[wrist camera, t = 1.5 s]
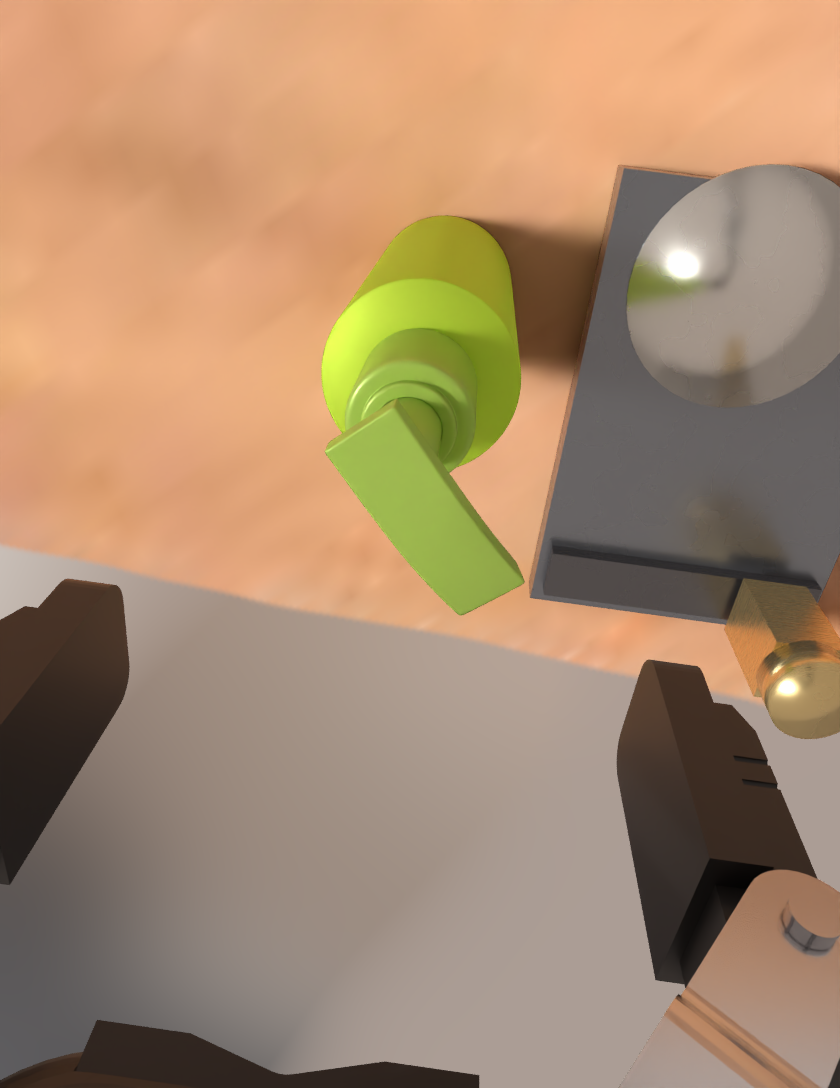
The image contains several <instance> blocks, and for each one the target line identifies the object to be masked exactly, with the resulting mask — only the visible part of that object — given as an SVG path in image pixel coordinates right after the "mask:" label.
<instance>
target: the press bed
mask: <svg viewBox="0 0 840 1088" xmlns="http://www.w3.org/2000/svg"><path fill="white" fill-rule="evenodd" d="M839 554H840V187H838V186H837V185H836V184H835V183H834V182H832V181H830V180H829V179H827V178H825V177H823V176H822V175H820V174H817V173H815V172H812V171H809V170H807V169H804V168H799V167H794V166H789V165H776V164H766V165H755V166H749V167H745V168H740V169H736V170H733V171H730V172H727V173H724V174H722V175H719V176H717V177H707V176H700V175H692V174H684V173H676V172H669V171H661V170H653V169H645V168H637V167H630V166H622V165H618V170H617V174H616V179H615V184H614V188H613V193H612V198H611V202H610V207H609V212H608V216H607V221H606V226H605V230H604V235H603V240H602V244H601V249H600V254H599V258H598V263H597V268H596V272H595V277H594V282H593V286H592V291H591V296H590V300H589V305H588V310H587V314H586V319H585V323H584V328H583V333H582V337H581V342H580V347H579V351H578V356H577V361H576V365H575V370H574V375H573V379H572V384H571V389H570V393H569V398H568V403H567V407H566V412H565V417H564V421H563V426H562V431H561V435H560V440H559V445H558V449H557V454H556V459H555V463H554V468H553V473H552V477H551V482H550V487H549V491H548V496H547V501H546V505H545V510H544V515H543V519H542V524H541V529H540V533H539V538H538V543H537V547H536V552H535V557H534V561H533V566H532V571H531V575H530V580H529V589H530V598H535V599H542V600H549V601H557V602H564V603H571V604H579V605H586V606H593V607H601V608H608V609H615V610H623V611H630V612H637V613H644V614H652V615H659V616H666V617H674V618H681V619H688V620H696V621H703V622H710V623H718V624H725V625H726V623H727V621H728V618H729V615H730V613H731V610H732V608H733V605H734V602H735V600H736V597H737V594H738V592H739V589H740V586H741V584H742V581H743V578H746V579H753V580H760V581H768V582H775V583H783V584H790V585H797V586H805V587H807V588H808V590H809V591H810V593H811V594H812V596H813V597H814V599H815V600H816V602H817V603H818V601H819V599H820V597H821V594H822V592H823V590H824V588H825V585H826V583H827V581H828V579H829V576H830V574H831V572H832V570H833V567H834V565H835V563H836V561H837V558H838V556H839Z"/></svg>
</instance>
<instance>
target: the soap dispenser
mask: <svg viewBox="0 0 840 1088" xmlns="http://www.w3.org/2000/svg"><path fill="white" fill-rule="evenodd" d="M321 376H322V387H323V392H324V397H325V400H326V404H327V406H328V409H329V411H330V414H331V416H332V418H333V420H334V421H335V423H336V425H337V426H338V428H339V429H340V431H341V432H342V434H341V435H339V436H337V437H336V438H334V439H333V440H331V441H330V442H329V443H328V445H327V448H326V450H325V453H326V455H327V456H328V458H329V459H330V460H331V462H332V463H333V464H334V466H335V467H336V469H337V470H338V471H339V473H340V474H341V475H342V477H343V478H344V480H345V481H346V482H347V484H348V485H349V486H350V488H351V489H352V491H353V492H354V493H355V495H356V496H357V497H358V499H359V500H360V501H361V503H362V504H363V505H364V507H365V508H366V509H367V511H368V512H369V513H370V515H371V516H372V517H373V519H374V520H375V521H376V523H377V524H378V525H379V527H380V528H381V529H382V531H383V532H384V533H385V535H386V536H387V537H388V538H389V540H390V541H391V542H392V543H393V545H394V546H395V547H396V548H397V550H398V551H399V552H400V553H401V555H402V556H403V557H404V558H405V559H406V561H407V562H408V563H409V564H410V565H411V566H412V568H413V569H414V570H415V571H416V572H417V573H418V574H419V576H420V577H421V578H422V579H423V580H424V581H425V582H426V583H427V584H428V585H429V586H430V587H431V588H432V589H433V590H434V591H435V593H436V594H437V595H438V596H439V597H440V598H441V599H442V600H443V601H444V602H445V603H446V604H448V605H449V606H450V607H451V608H452V609H453V610H454V611H455V612H456V613H457V614H459V615H464V614H466V613H468V612H470V611H472V610H474V609H476V608H478V607H480V606H482V605H484V604H486V603H488V602H490V601H492V600H494V599H496V598H498V597H499V596H501V595H503V594H505V593H507V592H509V591H511V590H513V589H515V588H517V587H519V586H520V585H522V584H523V583H524V582H525V581H524V579H523V576H522V574H521V572H520V570H519V567H518V565H517V563H516V561H515V560H514V559H513V558H512V556H511V555H510V554H509V553H508V551H507V550H506V549H505V548H504V547H503V546H502V544H501V543H500V542H499V541H498V539H497V538H496V537H495V536H494V534H493V533H492V532H491V530H490V529H489V528H488V527H487V525H486V524H485V523H484V521H483V520H482V519H481V517H480V516H479V514H478V513H477V512H476V510H475V509H474V508H473V506H472V505H471V503H470V502H469V501H468V499H467V498H466V496H465V495H464V494H463V492H462V491H461V489H460V488H459V486H458V485H457V484H456V482H455V481H454V479H453V478H452V476H451V475H450V474H449V473H450V472H451V471H452V470H454V469H455V468H456V467H459V466H461V465H464V464H466V463H468V462H470V461H472V460H474V459H475V458H477V457H478V456H480V455H481V454H483V453H484V452H485V451H487V450H488V449H489V448H490V447H491V446H492V445H493V444H494V443H495V442H496V441H497V440H498V439H499V438H500V436H501V435H502V434H503V432H504V431H505V429H506V428H507V426H508V425H509V423H510V421H511V419H512V417H513V415H514V412H515V410H516V407H517V403H518V399H519V395H520V388H521V367H520V357H519V347H518V338H517V328H516V319H515V309H514V300H513V290H512V281H511V273H510V268H509V265H508V261H507V259H506V256H505V254H504V252H503V250H502V249H501V247H500V246H499V244H498V243H497V241H496V240H495V239H494V238H493V237H492V236H491V235H490V234H489V233H488V232H487V231H486V230H484V229H483V228H482V227H480V226H479V225H477V224H475V223H473V222H471V221H469V220H466V219H463V218H460V217H455V216H434V217H429V218H425V219H422V220H420V221H417V222H415V223H413V224H411V225H410V226H408V227H407V228H405V229H404V230H403V231H401V232H400V233H399V234H398V235H397V236H396V237H395V238H394V239H393V241H392V242H391V243H390V245H389V246H388V248H387V249H386V251H385V252H384V253H383V255H382V256H381V258H380V259H379V261H378V262H377V264H376V265H375V266H374V268H373V269H372V271H371V272H370V274H369V275H368V277H367V278H366V279H365V281H364V282H363V284H362V285H361V287H360V288H359V290H358V291H357V293H356V294H355V295H354V297H353V298H352V300H351V301H350V303H349V304H348V306H347V307H346V308H345V310H344V311H343V313H342V314H341V316H340V317H339V319H338V320H337V322H336V323H335V325H334V327H333V328H332V330H331V332H330V335H329V337H328V340H327V342H326V346H325V349H324V353H323V359H322V370H321Z"/></svg>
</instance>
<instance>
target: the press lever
mask: <svg viewBox="0 0 840 1088" xmlns="http://www.w3.org/2000/svg"><path fill="white" fill-rule="evenodd" d="M724 630H725V632H726V634H727V636H728V639H729V641H730V643H731V646H732V648H733V650H734V652H735V655H736V657H737V659H738V662H739V664H740V666H741V669H742V671H743V673H744V675H745V678H746V680H747V682H748V685H749V687H750V689H751V692H752V694H753V696H755V697H762V699H763V701H764V703H765V706H766V708H767V710H768V712H769V715H770V717H771V719H772V721H773V723H774V724H775V726H776V727H777V728H778V729H779V730H781V731H782V732H784V733H785V734H787V735H790V736H793V737H796V738H801V739H817V738H823V737H827V736H830V735H833V734H836V733H838V732H840V638H839V636H838V635H837V633H836V632H835V630H834V629H833V627H832V625H831V624H830V622H829V621H828V619H827V618H826V616H825V615H824V613H823V611H822V610H821V608H820V607H819V605H818V604H817V602H816V600H815V599H814V597H813V596H812V594H811V593H810V591H809V590H808V588H807V587H805V586H797V585H790V584H783V583H775V582H768V581H760V580H753V579H746V578H743V581H742V584H741V586H740V589H739V592H738V594H737V597H736V600H735V602H734V605H733V608H732V610H731V613H730V615H729V618H728V621H727V623H726V626H725V629H724Z"/></svg>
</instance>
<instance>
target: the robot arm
mask: <svg viewBox="0 0 840 1088" xmlns="http://www.w3.org/2000/svg"><path fill="white" fill-rule="evenodd" d="M128 678H129V656H128V647H127V635H126V625H125V614H124V604H123V596H122V592H121V590H120V588H119V587H118V586H117V585H110V584H104V583H96V582H89V581H82V580H74V579H65V580H64V581H62V582H61V583H60V584H59V585H58V586H57V587H56V588H55V589H54V591H52V593H51V594H50V595H49V596H48V597H47V598H46V599H45V600H44V602H43V603H42V604H41V605H40V606H39V607H38V608H34V607H27V606H25V607H23V608H21V609H19V610H17V611H16V612H14V613H12V614H10V615H9V616H7V617H5V618H3V619H1V620H0V884H6V885H10V884H11V882H12V881H13V879H14V877H15V876H16V874H17V872H18V870H19V869H20V867H21V866H22V864H23V863H24V861H25V859H26V858H27V856H28V854H29V853H30V851H31V850H32V848H33V846H34V845H35V843H36V841H37V840H38V838H39V836H40V835H41V833H42V832H43V830H44V828H45V827H46V825H47V823H48V822H49V820H50V819H51V817H52V815H53V814H54V812H55V810H56V808H57V807H58V805H59V804H60V802H61V800H62V799H63V797H64V796H65V794H66V792H67V790H68V789H69V788H70V786H71V784H72V783H73V781H74V779H75V778H76V776H77V774H78V773H79V771H80V770H81V768H82V766H83V765H84V763H85V762H86V760H87V758H88V756H89V755H90V753H91V752H92V750H93V748H94V747H95V745H96V744H97V742H98V740H99V739H100V737H101V735H102V734H103V732H104V730H105V729H106V727H107V726H108V724H109V722H110V721H111V719H112V717H113V716H114V714H115V713H116V711H117V709H118V708H119V706H120V704H121V702H122V700H123V697H124V695H125V691H126V688H127V684H128ZM767 761H768V760H767V757H766V755H765V752H764V750H763V748H762V745H761V743H760V740H759V738H758V736H757V733H756V731H755V730H754V729H753V728H752V727H751V726H750V725H749V724H748V723H747V721H745V719H744V718H743V717H742V716H741V715H740V714H739V713H738V712H737V711H736V709H735V708H734V707H733V706H732V705H727V704H720V703H713V700H712V697H711V694H710V692H709V689H708V686H707V683H706V681H705V678H704V675H703V673H702V671H701V669H700V668H699V667H698V666H691V665H684V664H677V663H669V662H662V661H655V660H647V661H646V662H645V663H644V664H643V666H642V669H641V671H640V674H639V677H638V681H637V684H636V687H635V690H634V693H633V697H632V699H631V702H630V706H629V709H628V712H627V715H626V718H625V721H624V724H623V728H622V731H621V734H620V739H619V743H618V750H617V775H618V781H619V786H620V792H621V797H622V803H623V808H624V813H625V819H626V823H627V829H628V835H629V840H630V845H631V851H632V856H633V861H634V867H635V872H636V877H637V883H638V888H639V894H640V899H641V904H642V910H643V915H644V921H645V926H646V931H647V937H648V942H649V947H650V953H651V958H652V963H653V969H654V974H655V980H659V981H665V982H672V983H680V984H685V988H686V989H685V990H684V992H683V993H682V995H677V996H676V998H675V999H674V1000H673V1002H672V1003H671V1005H670V1006H669V1008H668V1009H667V1011H666V1013H665V1014H664V1016H663V1017H662V1019H661V1021H660V1022H659V1024H658V1025H657V1027H656V1028H655V1030H654V1032H653V1033H652V1035H651V1036H650V1038H649V1040H648V1042H647V1043H646V1045H645V1046H644V1048H643V1050H642V1051H641V1053H640V1054H639V1056H638V1057H637V1059H636V1060H635V1062H634V1064H633V1065H632V1067H631V1068H630V1070H629V1072H628V1073H627V1075H626V1076H625V1078H624V1080H623V1081H622V1083H621V1084H620V1086H619V1088H840V892H838V891H837V890H835V889H834V888H832V887H831V886H829V885H827V884H826V883H824V882H822V881H820V880H818V879H817V877H816V874H815V872H814V869H813V867H812V865H811V862H810V860H809V857H808V855H807V853H806V850H805V848H804V845H803V843H802V841H801V839H800V836H799V833H798V831H797V829H796V827H795V824H794V821H793V819H792V817H791V814H790V812H789V810H788V807H787V805H786V803H785V800H784V798H783V795H782V793H781V790H778V789H777V784H778V783H777V781H776V778H775V776H774V774H773V772H772V769H771V767H770V766H768V765H767ZM0 1088H479V1075H473V1074H467V1073H460V1072H453V1071H446V1070H439V1069H432V1068H425V1067H418V1066H411V1065H404V1064H398V1063H391V1062H379V1063H372V1064H364V1065H357V1066H350V1067H343V1068H335V1069H328V1070H321V1071H314V1072H306V1073H299V1074H292V1075H283V1074H278V1073H275V1072H271V1071H270V1070H267V1069H265V1068H263V1067H261V1066H259V1065H257V1064H255V1063H253V1062H250V1061H248V1060H246V1059H244V1058H242V1057H240V1056H238V1055H235V1054H233V1053H231V1052H229V1051H227V1050H225V1049H223V1048H220V1047H218V1046H216V1045H214V1044H212V1043H210V1042H208V1041H206V1040H203V1039H201V1038H199V1037H197V1036H195V1035H193V1034H191V1033H183V1032H177V1031H169V1030H163V1029H156V1028H149V1027H142V1026H136V1025H129V1024H122V1023H114V1022H107V1021H101V1020H97V1021H96V1024H95V1026H94V1028H93V1031H92V1033H91V1035H90V1038H89V1040H88V1042H87V1045H86V1047H85V1049H84V1052H79V1053H72V1054H68V1055H64V1056H60V1057H57V1058H53V1059H49V1060H46V1061H43V1062H40V1063H38V1064H35V1065H33V1066H30V1067H27V1068H25V1069H22V1070H20V1071H18V1072H16V1073H14V1074H12V1075H10V1076H8V1077H6V1078H4V1079H2V1080H0Z"/></svg>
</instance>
